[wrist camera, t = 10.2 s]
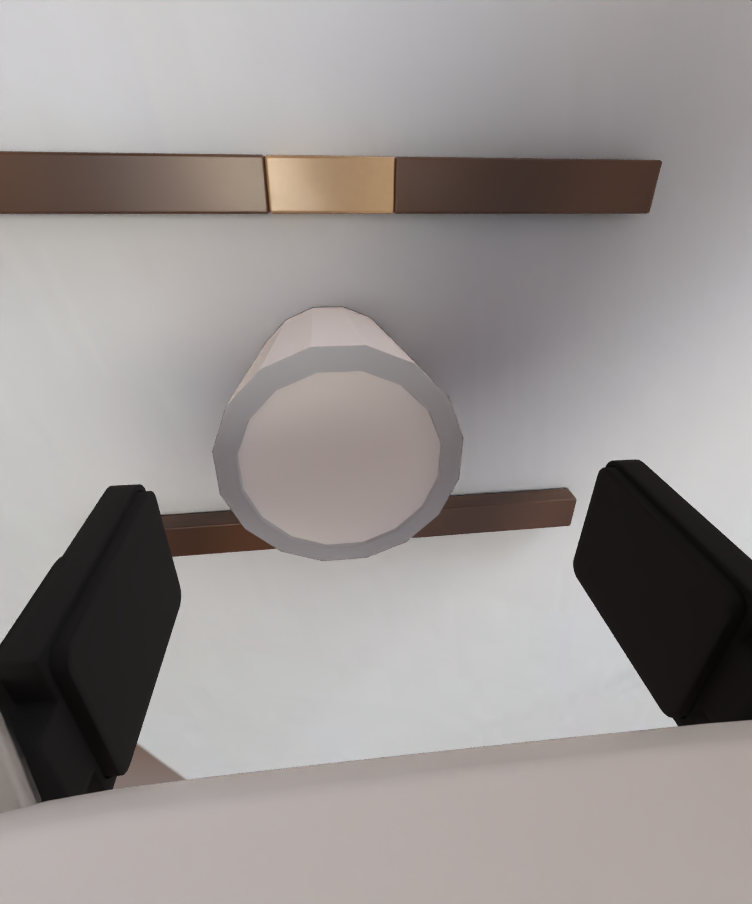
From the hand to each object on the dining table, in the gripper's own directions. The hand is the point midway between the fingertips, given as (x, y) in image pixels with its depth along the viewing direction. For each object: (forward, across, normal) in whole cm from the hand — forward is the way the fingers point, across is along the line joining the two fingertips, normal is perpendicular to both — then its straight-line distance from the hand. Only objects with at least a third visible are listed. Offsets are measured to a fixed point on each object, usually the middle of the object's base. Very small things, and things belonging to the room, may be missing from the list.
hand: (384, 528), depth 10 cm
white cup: (+10, +1, 0) cm, 10 cm away
